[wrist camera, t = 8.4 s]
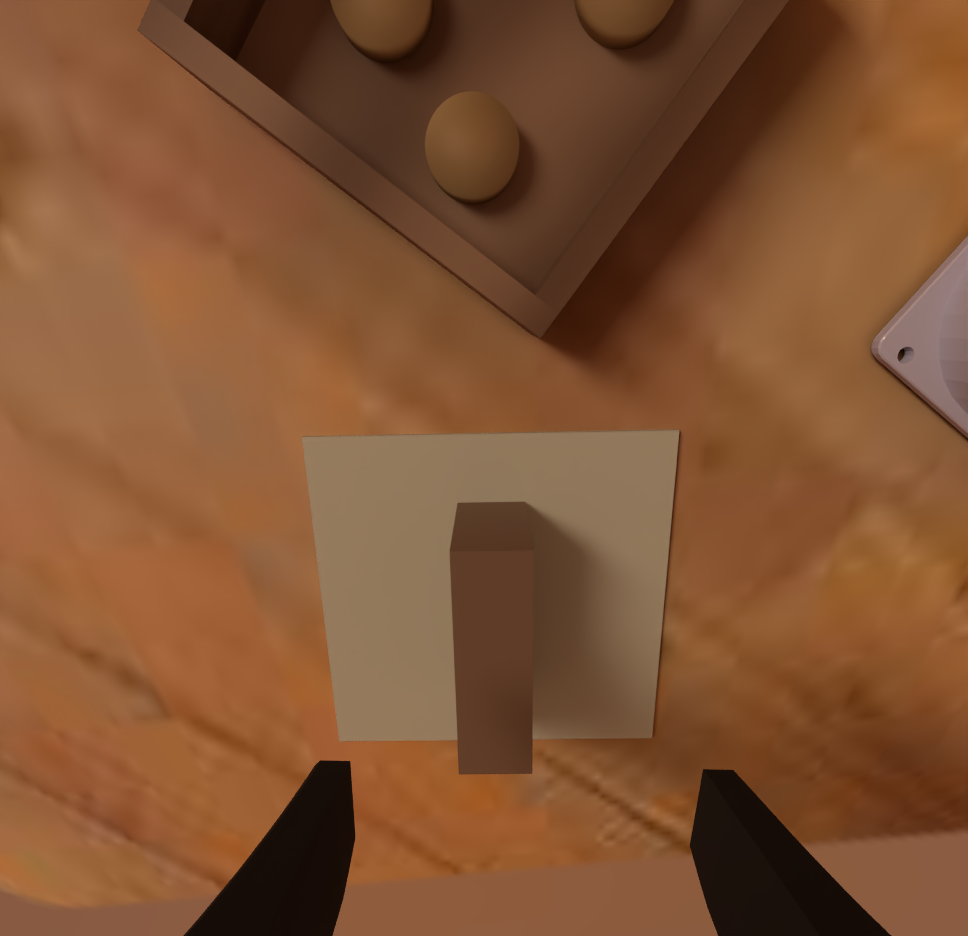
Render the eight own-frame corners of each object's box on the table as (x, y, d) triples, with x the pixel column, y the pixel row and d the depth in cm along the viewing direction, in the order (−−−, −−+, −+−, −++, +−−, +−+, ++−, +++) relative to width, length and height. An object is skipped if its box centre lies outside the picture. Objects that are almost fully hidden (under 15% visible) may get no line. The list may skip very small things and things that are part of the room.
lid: (671, 425, 18) (732, 462, 14) (646, 723, 22) (687, 830, 18) (309, 432, 19) (251, 470, 14) (344, 726, 22) (307, 833, 18)
